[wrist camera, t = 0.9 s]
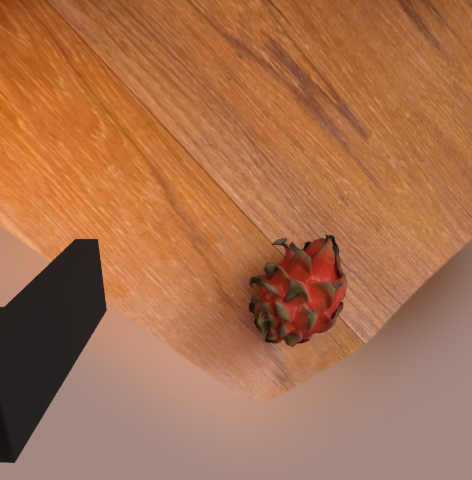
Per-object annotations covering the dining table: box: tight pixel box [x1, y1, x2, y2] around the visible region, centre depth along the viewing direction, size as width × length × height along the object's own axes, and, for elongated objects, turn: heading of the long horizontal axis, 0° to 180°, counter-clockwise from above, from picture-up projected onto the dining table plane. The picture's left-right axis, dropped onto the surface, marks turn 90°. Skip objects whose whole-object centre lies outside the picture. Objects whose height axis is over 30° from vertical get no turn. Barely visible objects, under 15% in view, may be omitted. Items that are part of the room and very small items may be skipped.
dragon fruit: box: [249, 232, 347, 347], centre depth 42 cm, size 8×8×12 cm
